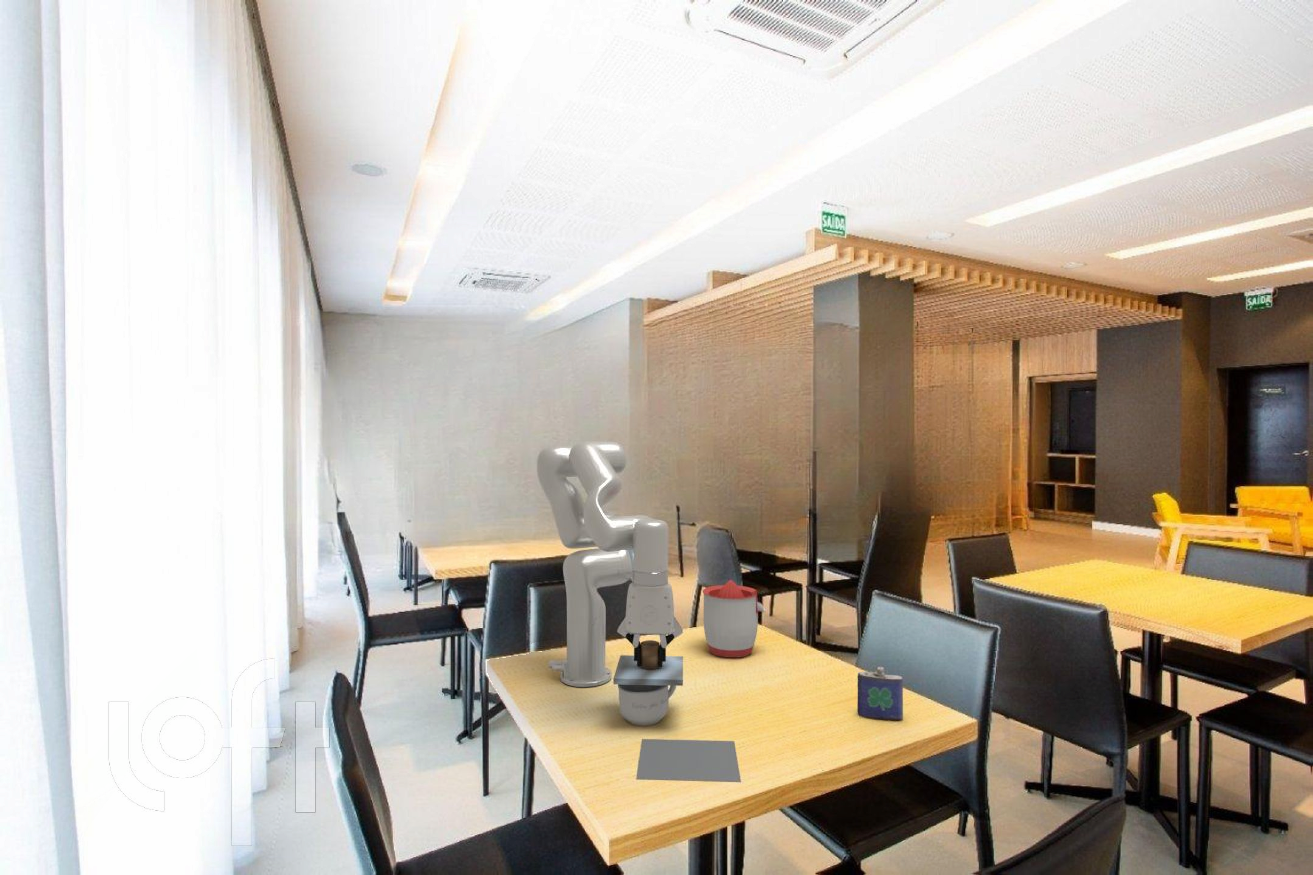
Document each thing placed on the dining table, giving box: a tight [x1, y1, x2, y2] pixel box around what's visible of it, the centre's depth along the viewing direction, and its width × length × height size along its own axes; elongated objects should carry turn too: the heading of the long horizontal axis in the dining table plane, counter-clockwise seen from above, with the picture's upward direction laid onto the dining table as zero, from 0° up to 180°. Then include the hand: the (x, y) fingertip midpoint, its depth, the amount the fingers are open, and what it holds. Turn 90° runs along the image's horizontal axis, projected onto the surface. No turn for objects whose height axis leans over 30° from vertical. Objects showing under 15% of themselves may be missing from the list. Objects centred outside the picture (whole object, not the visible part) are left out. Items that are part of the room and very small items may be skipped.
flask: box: [857, 666, 904, 722], centre depth 137 cm, size 9×3×11 cm, turn 74°
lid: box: [612, 639, 684, 687], centre depth 136 cm, size 14×14×6 cm
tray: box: [635, 738, 742, 783], centre depth 118 cm, size 18×15×1 cm
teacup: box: [617, 684, 677, 726], centre depth 136 cm, size 14×11×8 cm
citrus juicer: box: [702, 579, 766, 658], centre depth 179 cm, size 16×17×20 cm
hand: (649, 663), depth 136 cm, fingers closed on lid, 4 cm apart
